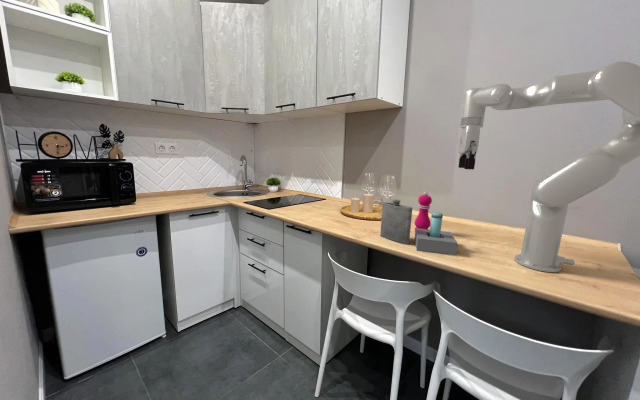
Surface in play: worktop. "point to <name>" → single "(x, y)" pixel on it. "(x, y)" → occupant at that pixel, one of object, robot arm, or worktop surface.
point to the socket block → (435, 242)
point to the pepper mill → (423, 212)
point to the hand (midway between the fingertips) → (465, 168)
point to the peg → (435, 225)
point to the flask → (396, 222)
